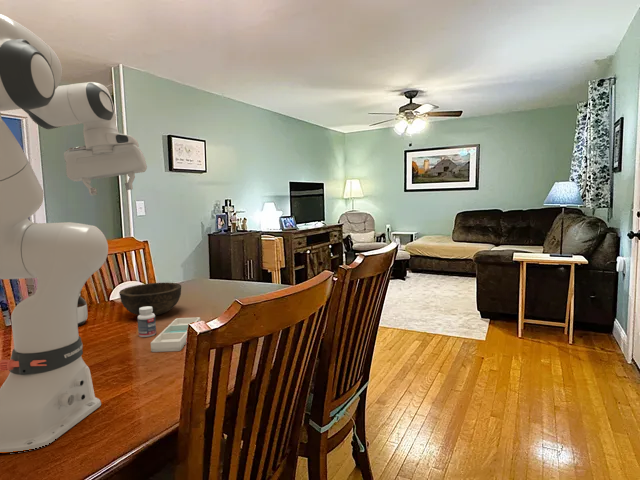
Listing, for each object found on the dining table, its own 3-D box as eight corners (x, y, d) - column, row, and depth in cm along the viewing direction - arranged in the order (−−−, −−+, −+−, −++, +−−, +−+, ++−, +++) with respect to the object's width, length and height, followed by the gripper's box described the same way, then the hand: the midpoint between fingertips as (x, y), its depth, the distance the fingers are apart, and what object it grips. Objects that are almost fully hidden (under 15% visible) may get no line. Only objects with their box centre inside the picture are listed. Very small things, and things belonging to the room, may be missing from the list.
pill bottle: (149, 337, 128) (147, 310, 127) (135, 337, 129) (133, 309, 128) (159, 332, 133) (157, 305, 132) (145, 331, 134) (143, 305, 133)
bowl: (184, 318, 148) (182, 291, 147) (118, 326, 140) (116, 298, 139) (181, 304, 168) (179, 280, 167) (123, 310, 160) (121, 286, 159)
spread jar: (89, 320, 149) (87, 289, 148) (84, 329, 138) (81, 296, 137) (51, 324, 145) (48, 292, 143) (43, 334, 134) (39, 300, 133)
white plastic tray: (180, 350, 116) (179, 341, 115) (151, 352, 115) (150, 342, 115) (200, 325, 139) (200, 317, 139) (176, 326, 139) (176, 318, 138)
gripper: (57, 145, 108) (66, 196, 108) (137, 135, 112) (146, 184, 111) (68, 151, 114) (76, 199, 114) (143, 142, 118) (151, 188, 118)
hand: (111, 192), depth 113 cm, fingers open, 8 cm apart
